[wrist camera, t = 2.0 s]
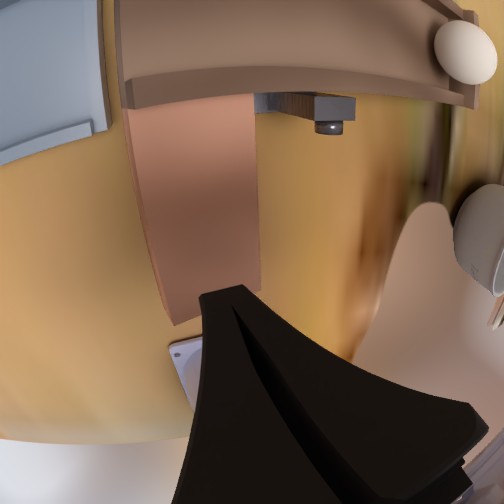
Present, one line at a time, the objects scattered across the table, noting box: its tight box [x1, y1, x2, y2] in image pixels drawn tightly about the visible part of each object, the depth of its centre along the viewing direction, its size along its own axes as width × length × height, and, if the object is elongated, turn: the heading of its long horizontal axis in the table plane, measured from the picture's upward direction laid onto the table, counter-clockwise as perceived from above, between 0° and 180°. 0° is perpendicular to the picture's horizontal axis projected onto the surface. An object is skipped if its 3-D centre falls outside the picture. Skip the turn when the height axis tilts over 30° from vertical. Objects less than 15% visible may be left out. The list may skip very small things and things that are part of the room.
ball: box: [434, 20, 497, 85], centre depth 11 cm, size 4×4×4 cm
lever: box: [114, 0, 480, 326], centre depth 11 cm, size 15×20×3 cm
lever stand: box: [254, 91, 356, 135], centre depth 11 cm, size 11×4×6 cm, turn 3°
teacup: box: [453, 184, 504, 297], centre depth 25 cm, size 14×11×8 cm
